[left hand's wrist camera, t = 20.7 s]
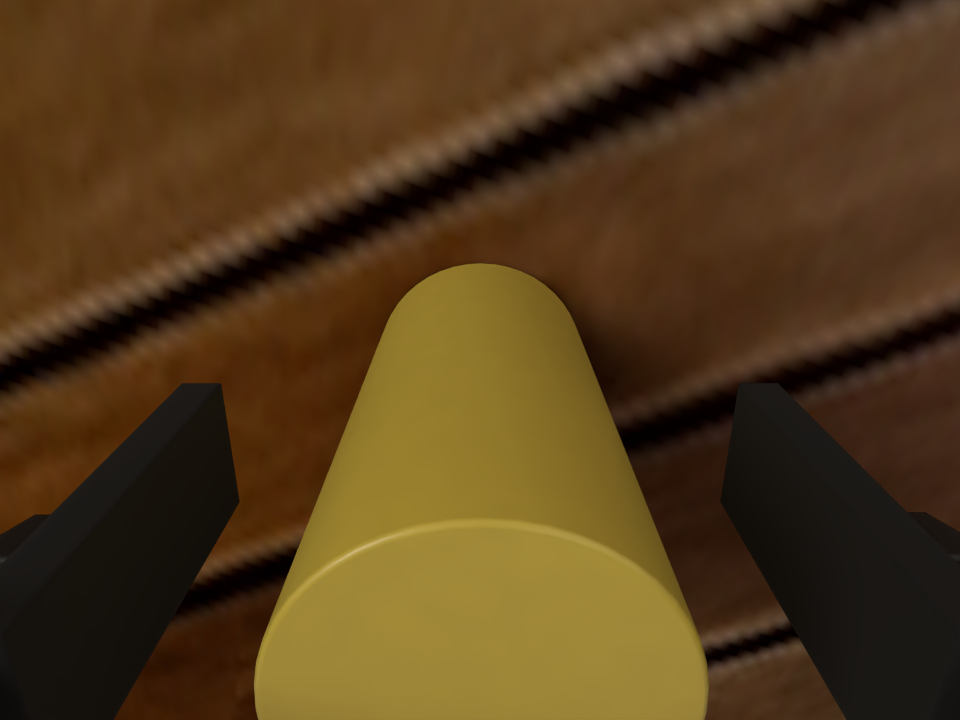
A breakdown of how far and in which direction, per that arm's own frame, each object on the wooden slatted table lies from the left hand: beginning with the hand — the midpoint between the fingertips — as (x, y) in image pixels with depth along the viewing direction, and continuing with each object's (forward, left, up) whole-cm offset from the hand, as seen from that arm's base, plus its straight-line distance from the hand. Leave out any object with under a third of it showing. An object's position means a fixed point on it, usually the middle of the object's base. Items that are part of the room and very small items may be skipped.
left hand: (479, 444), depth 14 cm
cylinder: (0, 0, -5) cm, 5 cm away
